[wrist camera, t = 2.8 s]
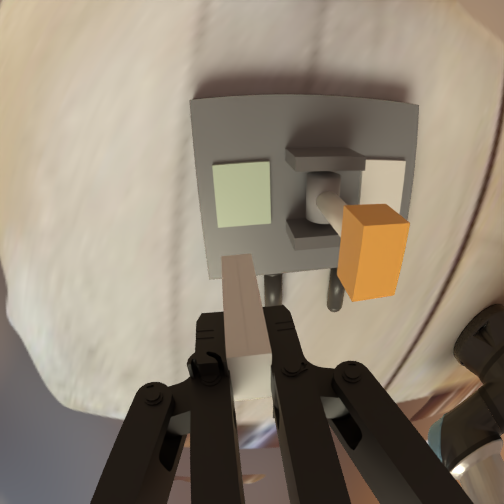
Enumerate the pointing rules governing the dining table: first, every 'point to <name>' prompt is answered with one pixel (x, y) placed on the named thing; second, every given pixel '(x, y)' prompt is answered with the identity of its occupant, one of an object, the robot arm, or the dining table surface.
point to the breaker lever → (359, 237)
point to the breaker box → (294, 175)
